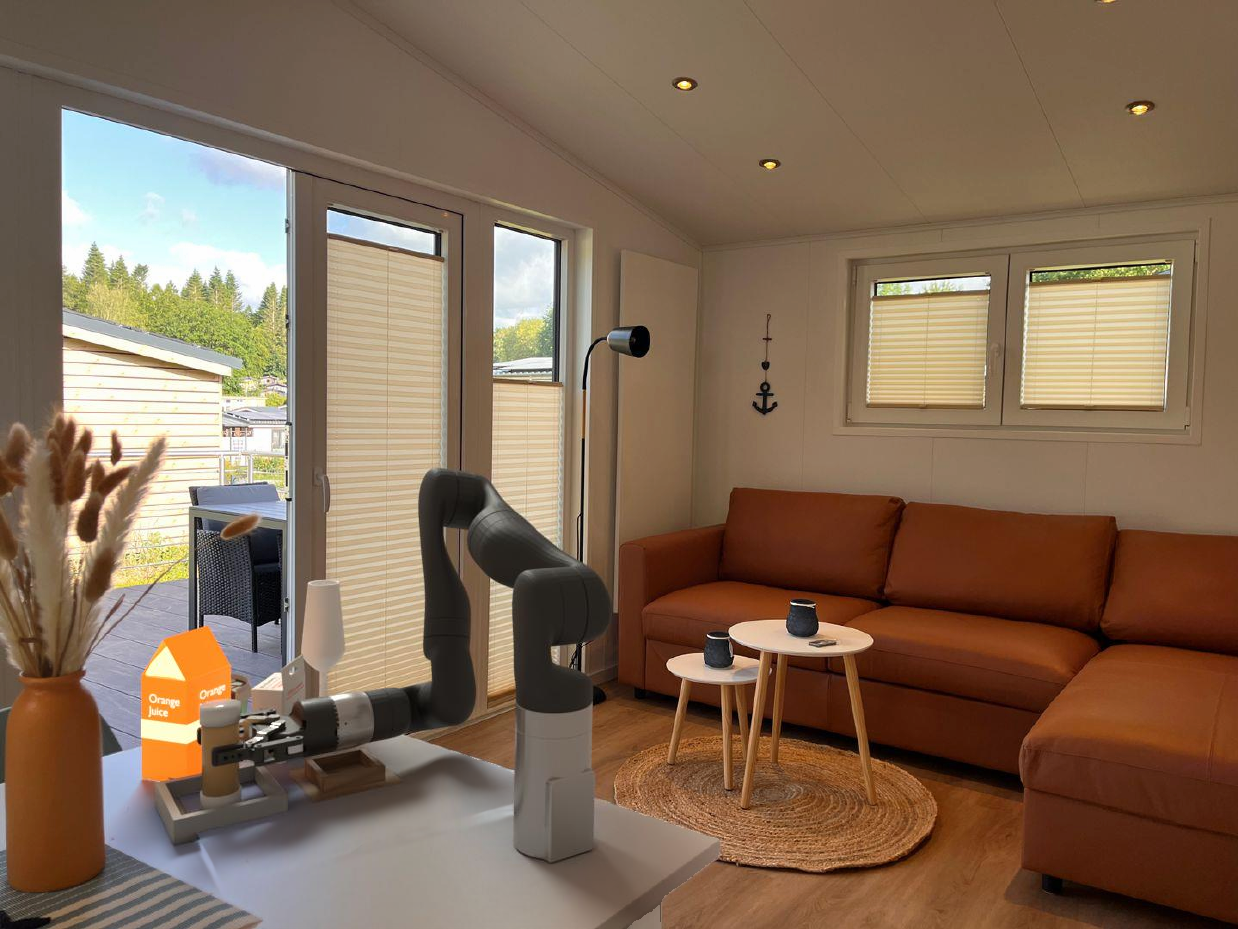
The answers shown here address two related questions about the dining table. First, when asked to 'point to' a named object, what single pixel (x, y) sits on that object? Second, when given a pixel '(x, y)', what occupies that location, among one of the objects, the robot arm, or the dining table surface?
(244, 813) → the grey parts tray
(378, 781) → the walnut block
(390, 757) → the dining table surface
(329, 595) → the champagne flute
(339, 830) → the dining table surface
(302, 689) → the ink cartridge box
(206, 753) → the cartridge fuse
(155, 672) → the orange juice
